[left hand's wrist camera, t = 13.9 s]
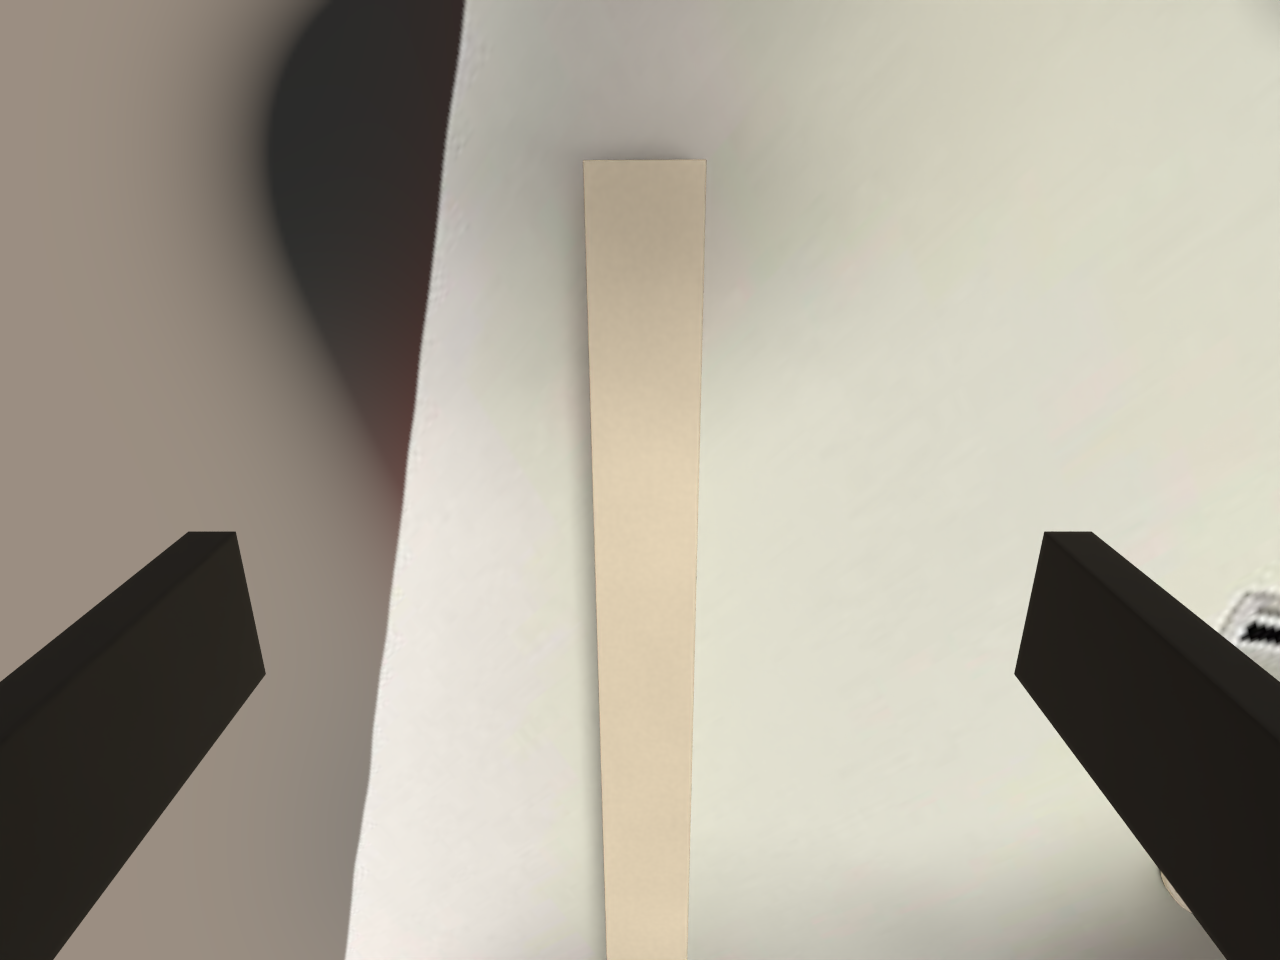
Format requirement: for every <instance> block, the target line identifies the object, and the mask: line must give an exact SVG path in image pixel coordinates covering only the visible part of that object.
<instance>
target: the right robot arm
mask: <svg viewBox="0 0 1280 960" xmlns="http://www.w3.org/2000/svg"><path fill="white" fill-rule="evenodd" d="M1161 877H1162V880H1163V882H1164V885H1165V887H1166V888H1167V890H1168V891H1169V893H1170V894H1171V895H1172V897H1173V898H1174V900H1175V901H1176V902H1177V903H1178V904H1179V905H1180V906H1181V907H1182V908H1184V909H1185V910H1187V911H1189V912H1190V913H1192V912H1191V911H1190V909H1189V908H1188V907H1187V905H1186V904H1185V903H1184V901H1183V900H1182V899H1181V897H1180V896H1179V895H1178V893H1177V892H1176V891H1175V889H1174V888H1173V887H1172V885H1171V884H1170V883H1169V881H1168V880H1167V879H1166V877H1165V876H1164V875H1163V873H1162V872H1161Z"/></svg>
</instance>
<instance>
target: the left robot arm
mask: <svg viewBox="0 0 1280 960" xmlns="http://www.w3.org/2000/svg"><path fill="white" fill-rule="evenodd" d="M265 674H266V673H265V668H264V664H263V659H262V654H261V649H260V645H259V640H258V635H257V630H256V626H255V621H254V616H253V611H252V607H251V602H250V597H249V593H248V588H247V583H246V578H245V574H244V569H243V564H242V559H241V555H240V550H239V545H238V540H237V536H236V532H188V533H186V534H185V535H184V536H183V537H181V538H180V539H179V540H178V541H176V542H175V543H174V544H172V545H171V546H170V547H169V548H167V549H166V550H165V551H164V552H162V553H161V554H160V555H159V556H157V557H156V558H155V559H154V560H152V561H151V562H150V563H149V564H147V565H146V566H145V567H144V568H142V569H141V570H140V571H139V572H137V573H136V574H135V575H134V576H132V577H131V578H130V579H129V580H127V581H126V582H125V583H124V584H122V585H121V586H120V587H119V588H117V589H116V590H115V591H114V592H112V593H111V594H110V595H109V596H107V597H106V598H105V599H104V600H102V601H101V602H100V603H99V604H97V605H96V606H95V607H94V608H92V609H91V610H90V611H89V612H87V613H86V614H85V615H84V616H82V617H81V618H80V619H79V620H77V621H76V622H75V623H74V624H72V625H71V626H70V627H69V628H67V629H66V630H65V631H64V632H62V633H61V634H60V635H59V636H57V637H56V638H55V639H54V640H52V641H51V642H50V643H48V644H47V645H46V646H45V647H44V648H42V649H41V650H40V651H39V652H37V653H36V654H35V655H33V656H32V657H31V658H30V659H29V660H27V661H26V662H25V663H23V664H22V665H21V666H20V667H18V668H17V669H16V670H15V671H14V672H12V673H11V674H10V675H8V676H7V677H6V678H5V679H3V680H2V681H1V682H0V960H53V959H54V958H55V957H56V955H57V954H58V952H59V951H60V950H61V948H62V947H63V946H64V944H65V943H66V942H67V940H68V939H69V938H70V936H71V935H72V934H73V932H74V931H75V930H76V928H77V927H78V926H79V924H80V923H81V922H82V920H83V919H84V918H85V916H86V915H87V914H88V912H89V911H90V909H91V908H92V907H93V905H94V904H95V903H96V901H97V900H98V899H99V897H100V896H101V895H102V893H103V892H104V891H105V889H106V888H107V887H108V885H109V884H110V883H111V881H112V880H113V879H114V877H115V876H116V875H117V873H118V872H119V871H120V869H121V868H122V866H123V865H124V864H125V862H126V861H127V860H128V858H129V857H130V856H131V854H132V853H133V852H134V850H135V849H136V848H137V846H138V845H139V844H140V842H141V841H142V840H143V838H144V837H145V835H146V834H147V833H148V832H149V830H150V829H151V827H152V826H153V825H154V823H155V822H156V821H157V819H158V818H159V817H160V815H161V814H162V813H163V811H164V810H165V809H166V807H167V806H168V805H169V803H170V802H171V801H172V799H173V798H174V797H175V795H176V794H177V793H178V791H179V790H180V789H181V787H182V786H183V784H184V783H185V782H186V780H187V779H188V778H189V776H190V775H191V774H192V772H193V771H194V770H195V768H196V767H197V766H198V764H199V763H200V762H201V760H202V759H203V758H204V756H205V755H206V754H207V752H208V751H209V750H210V748H211V747H212V746H213V744H214V743H215V741H216V740H217V739H218V737H219V736H220V735H221V733H222V732H223V731H224V729H225V728H226V727H227V725H228V724H229V723H230V721H231V720H232V719H233V717H234V716H235V715H236V713H237V712H238V711H239V709H240V708H241V707H242V705H243V704H244V703H245V701H246V700H247V698H248V697H249V696H250V694H251V693H252V692H253V690H254V689H255V688H256V686H257V685H258V684H259V682H260V681H261V680H262V678H263V677H264V676H265ZM1014 674H1015V676H1016V677H1017V678H1018V680H1019V681H1020V682H1021V684H1022V685H1023V686H1024V688H1025V689H1026V690H1027V692H1028V693H1029V694H1030V696H1031V697H1032V698H1033V700H1034V701H1035V703H1036V704H1037V705H1038V707H1039V708H1040V709H1041V711H1042V712H1043V713H1044V715H1045V716H1046V717H1047V719H1048V720H1049V721H1050V723H1051V724H1052V725H1053V727H1054V728H1055V729H1056V731H1057V732H1058V733H1059V735H1060V736H1061V737H1062V739H1063V740H1064V741H1065V743H1066V744H1067V746H1068V747H1069V748H1070V750H1071V751H1072V752H1073V754H1074V755H1075V756H1076V758H1077V759H1078V760H1079V762H1080V763H1081V764H1082V766H1083V767H1084V768H1085V770H1086V771H1087V772H1088V774H1089V775H1090V776H1091V778H1092V779H1093V780H1094V782H1095V783H1096V785H1097V786H1098V787H1099V789H1100V790H1101V791H1102V793H1103V794H1104V795H1105V797H1106V798H1107V799H1108V801H1109V802H1110V803H1111V805H1112V806H1113V807H1114V809H1115V810H1116V811H1117V813H1118V814H1119V815H1120V817H1121V818H1122V819H1123V821H1124V822H1125V823H1126V825H1127V826H1128V828H1129V829H1130V830H1131V832H1132V833H1133V834H1134V836H1135V837H1136V838H1137V840H1138V841H1139V842H1140V844H1141V845H1142V846H1143V848H1144V849H1145V850H1146V852H1147V853H1148V854H1149V856H1150V857H1151V858H1152V860H1153V861H1154V862H1155V864H1156V865H1157V866H1158V868H1159V869H1160V871H1161V872H1162V873H1163V875H1164V876H1165V877H1166V879H1167V880H1168V881H1169V883H1170V884H1171V885H1172V887H1173V888H1174V889H1175V891H1176V892H1177V893H1178V895H1179V896H1180V897H1181V899H1182V900H1183V901H1184V903H1185V904H1186V905H1187V907H1188V908H1189V909H1190V911H1191V912H1192V914H1193V915H1194V916H1195V918H1196V919H1197V920H1198V922H1199V923H1200V924H1201V926H1202V927H1203V928H1204V930H1205V931H1206V932H1207V934H1208V935H1209V936H1210V938H1211V939H1212V940H1213V942H1214V943H1215V944H1216V946H1217V947H1218V948H1219V950H1220V951H1221V953H1222V954H1223V955H1224V957H1225V958H1226V959H1227V960H1280V682H1279V681H1278V680H1277V679H1275V678H1274V677H1273V676H1272V675H1270V674H1269V673H1268V672H1267V671H1265V670H1264V669H1263V668H1262V667H1260V666H1259V665H1258V664H1257V663H1255V662H1254V661H1253V660H1252V659H1250V658H1249V657H1248V656H1247V655H1245V654H1244V653H1243V652H1242V651H1240V650H1239V649H1238V648H1237V647H1235V646H1234V645H1233V644H1232V643H1230V642H1229V641H1228V640H1227V639H1225V638H1224V637H1223V636H1221V635H1220V634H1219V633H1218V632H1216V631H1215V630H1214V629H1213V628H1211V627H1210V626H1209V625H1208V624H1206V623H1205V622H1204V621H1203V620H1201V619H1200V618H1199V617H1198V616H1196V615H1195V614H1194V613H1193V612H1191V611H1190V610H1189V609H1188V608H1186V607H1185V606H1184V605H1183V604H1181V603H1180V602H1179V601H1178V600H1176V599H1175V598H1174V597H1173V596H1171V595H1170V594H1169V593H1168V592H1166V591H1165V590H1164V589H1163V588H1161V587H1160V586H1159V585H1158V584H1156V583H1155V582H1154V581H1153V580H1151V579H1150V578H1149V577H1148V576H1146V575H1145V574H1144V573H1143V572H1141V571H1140V570H1139V569H1138V568H1136V567H1135V566H1134V565H1133V564H1131V563H1130V562H1129V561H1128V560H1126V559H1125V558H1124V557H1123V556H1121V555H1120V554H1119V553H1118V552H1116V551H1115V550H1114V549H1113V548H1111V547H1110V546H1109V545H1108V544H1106V543H1105V542H1104V541H1103V540H1101V539H1100V538H1099V537H1098V536H1096V535H1095V534H1094V533H1093V532H1044V536H1043V540H1042V545H1041V550H1040V555H1039V559H1038V564H1037V569H1036V574H1035V578H1034V583H1033V588H1032V592H1031V597H1030V602H1029V607H1028V611H1027V616H1026V621H1025V626H1024V630H1023V635H1022V640H1021V645H1020V649H1019V654H1018V659H1017V664H1016V668H1015V673H1014Z"/></svg>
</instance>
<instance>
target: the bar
mask: <svg viewBox="0 0 1280 960" xmlns="http://www.w3.org/2000/svg"><path fill="white" fill-rule="evenodd" d="M583 179H584V212H585V246H586V280H587V313H588V347H589V381H590V414H591V448H592V481H593V515H594V549H595V582H596V616H597V650H598V683H599V717H600V751H601V784H602V818H603V851H604V885H605V919H606V952H607V960H687V941H688V900H689V859H690V818H691V776H692V735H693V694H694V653H695V612H696V571H697V530H698V489H699V448H700V407H701V366H702V325H703V284H704V243H705V201H706V159H692V160H583Z"/></svg>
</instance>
